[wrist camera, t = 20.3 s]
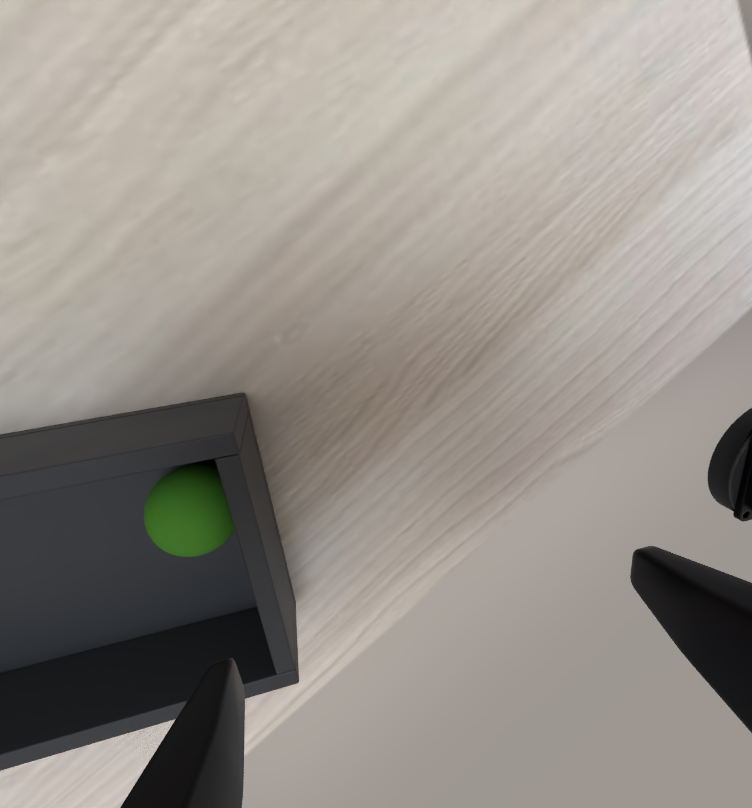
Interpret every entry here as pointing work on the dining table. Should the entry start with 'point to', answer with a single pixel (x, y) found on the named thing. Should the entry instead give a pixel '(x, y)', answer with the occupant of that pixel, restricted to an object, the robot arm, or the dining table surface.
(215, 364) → the dining table surface
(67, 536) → the tray
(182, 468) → the pea
